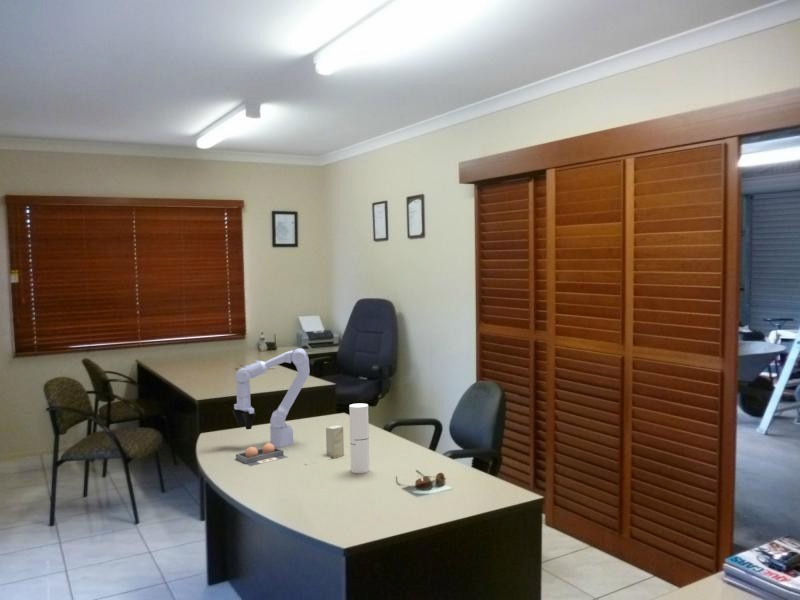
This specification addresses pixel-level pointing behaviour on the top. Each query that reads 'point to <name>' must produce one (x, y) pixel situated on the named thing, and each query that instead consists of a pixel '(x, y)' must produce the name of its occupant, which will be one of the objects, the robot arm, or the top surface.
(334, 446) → the skincare box
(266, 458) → the grey rimmed tray
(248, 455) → the terracotta ball
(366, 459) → the cylindrical container
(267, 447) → the resting terracotta ball
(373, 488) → the top surface
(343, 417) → the top surface
